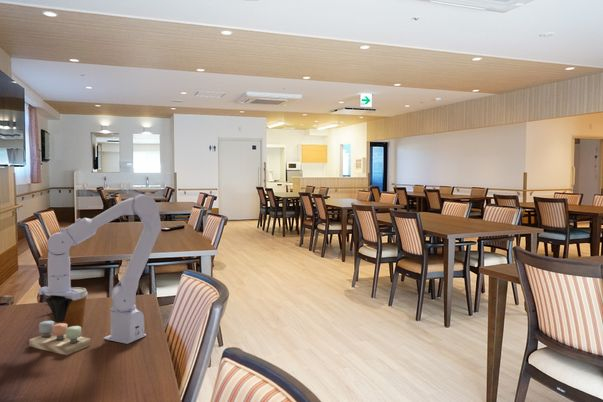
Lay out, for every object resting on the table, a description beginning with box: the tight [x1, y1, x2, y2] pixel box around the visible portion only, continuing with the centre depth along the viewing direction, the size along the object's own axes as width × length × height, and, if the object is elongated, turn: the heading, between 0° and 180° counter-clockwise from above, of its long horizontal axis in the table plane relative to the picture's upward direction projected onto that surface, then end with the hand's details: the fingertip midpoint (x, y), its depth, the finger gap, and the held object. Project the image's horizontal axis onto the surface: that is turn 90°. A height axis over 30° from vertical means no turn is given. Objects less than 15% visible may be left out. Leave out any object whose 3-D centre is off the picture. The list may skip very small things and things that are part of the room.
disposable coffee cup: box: [59, 286, 89, 328], centre depth 146 cm, size 10×10×12 cm
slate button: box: [38, 320, 55, 338], centre depth 132 cm, size 4×4×4 cm
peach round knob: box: [52, 323, 67, 341], centre depth 130 cm, size 4×4×4 cm
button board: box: [28, 332, 92, 356], centre depth 130 cm, size 15×8×2 cm, turn 66°
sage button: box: [66, 326, 82, 344], centre depth 128 cm, size 4×4×4 cm
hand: (59, 321), depth 130 cm, fingers closed
